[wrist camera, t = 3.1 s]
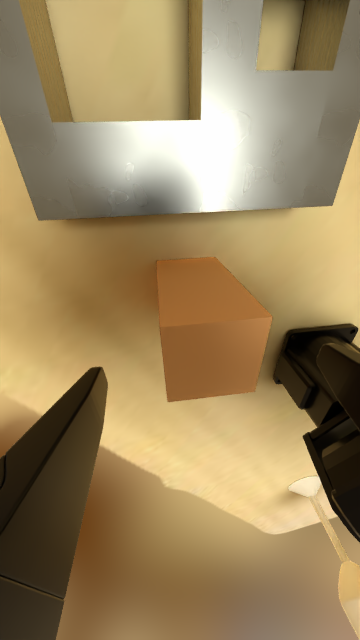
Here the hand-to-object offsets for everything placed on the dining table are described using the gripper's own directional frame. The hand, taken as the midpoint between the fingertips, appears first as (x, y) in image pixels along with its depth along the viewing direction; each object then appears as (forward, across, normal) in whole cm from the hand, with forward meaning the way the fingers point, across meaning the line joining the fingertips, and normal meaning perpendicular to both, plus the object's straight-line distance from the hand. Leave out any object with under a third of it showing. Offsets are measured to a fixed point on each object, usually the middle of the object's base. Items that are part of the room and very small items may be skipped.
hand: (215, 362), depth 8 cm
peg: (+8, 0, 0) cm, 8 cm away
